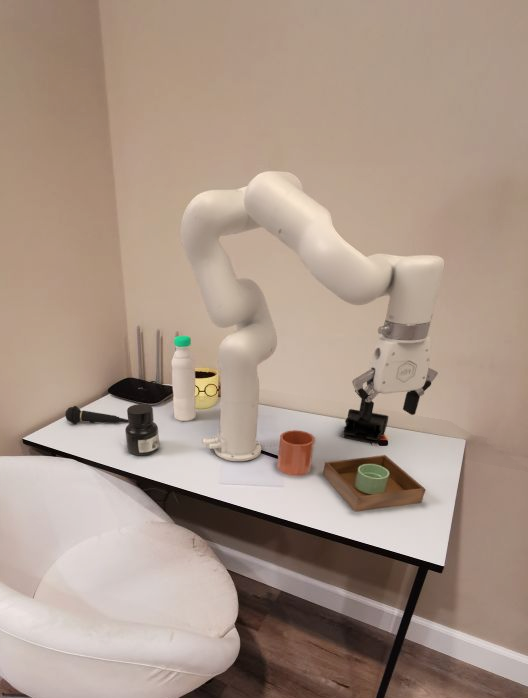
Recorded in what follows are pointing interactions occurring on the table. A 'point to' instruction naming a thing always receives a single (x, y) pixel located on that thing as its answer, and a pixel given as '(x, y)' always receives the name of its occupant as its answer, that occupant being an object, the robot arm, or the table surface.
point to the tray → (396, 494)
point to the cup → (295, 452)
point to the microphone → (90, 416)
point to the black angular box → (365, 427)
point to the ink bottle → (141, 430)
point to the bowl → (371, 479)
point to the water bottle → (183, 380)
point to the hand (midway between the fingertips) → (386, 415)
